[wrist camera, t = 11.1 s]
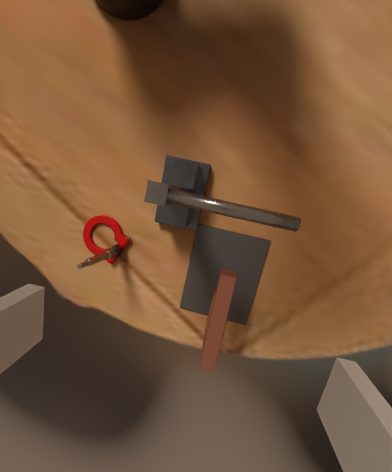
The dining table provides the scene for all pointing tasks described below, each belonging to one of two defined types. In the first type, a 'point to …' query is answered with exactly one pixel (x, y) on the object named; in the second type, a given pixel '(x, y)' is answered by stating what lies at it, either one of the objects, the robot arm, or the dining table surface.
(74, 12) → the dining table surface
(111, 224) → the tow hook
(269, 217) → the toilet paper holder
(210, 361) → the reddish-brown c-shaped bracket
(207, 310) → the mat
